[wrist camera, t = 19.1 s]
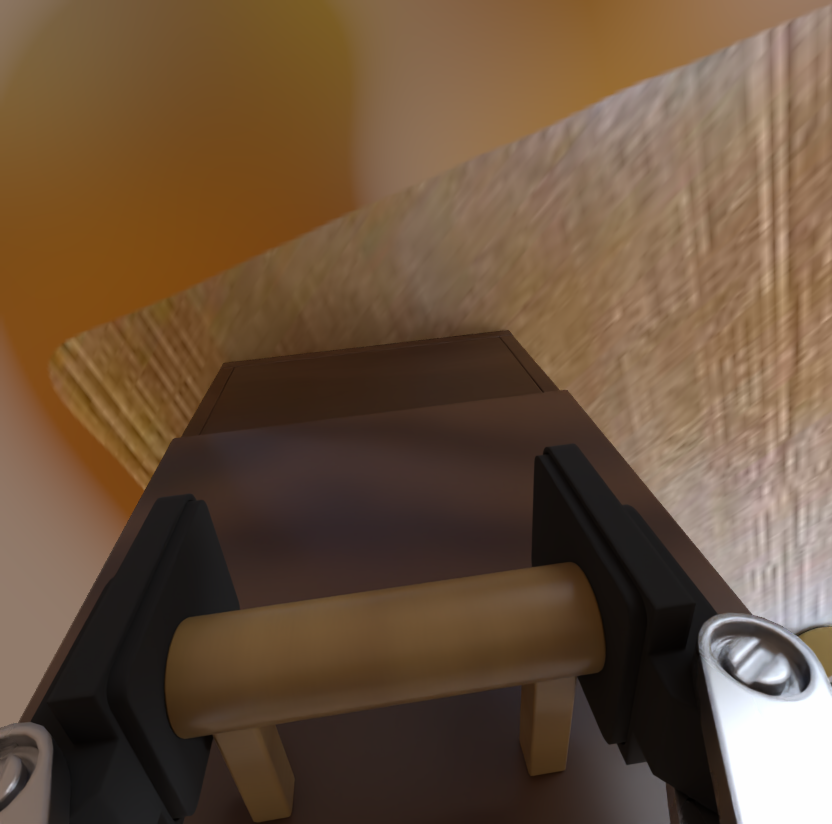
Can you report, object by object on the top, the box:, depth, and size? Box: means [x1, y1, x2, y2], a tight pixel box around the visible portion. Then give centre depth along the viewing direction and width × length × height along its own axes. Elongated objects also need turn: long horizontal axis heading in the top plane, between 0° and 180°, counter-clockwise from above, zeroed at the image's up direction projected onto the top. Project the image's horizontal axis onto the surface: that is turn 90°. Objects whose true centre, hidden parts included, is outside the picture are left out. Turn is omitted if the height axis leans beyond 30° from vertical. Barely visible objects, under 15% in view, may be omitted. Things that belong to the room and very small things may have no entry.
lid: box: [18, 390, 752, 824], centre depth 14 cm, size 16×17×5 cm
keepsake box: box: [181, 330, 560, 437], centre depth 30 cm, size 15×17×9 cm
